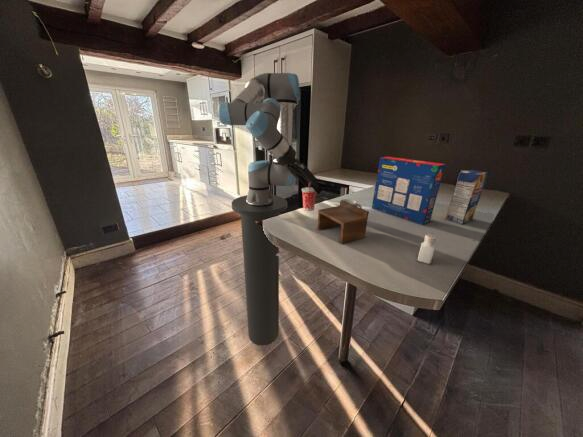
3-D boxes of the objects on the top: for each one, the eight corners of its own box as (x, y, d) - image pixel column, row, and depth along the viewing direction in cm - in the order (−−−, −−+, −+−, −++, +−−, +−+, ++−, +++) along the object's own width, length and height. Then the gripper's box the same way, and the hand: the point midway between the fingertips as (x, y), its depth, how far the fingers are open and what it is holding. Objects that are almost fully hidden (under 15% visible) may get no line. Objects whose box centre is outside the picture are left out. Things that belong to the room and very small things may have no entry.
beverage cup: (299, 208, 101) (299, 176, 96) (312, 206, 103) (312, 175, 98) (305, 212, 95) (305, 178, 90) (318, 210, 97) (319, 177, 92)
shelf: (317, 228, 103) (318, 204, 99) (339, 223, 110) (341, 200, 105) (341, 244, 91) (344, 217, 86) (364, 236, 97) (369, 211, 93)
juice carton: (456, 214, 124) (470, 169, 115) (472, 219, 118) (488, 172, 109) (445, 219, 118) (459, 172, 109) (461, 224, 112) (478, 175, 103)
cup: (359, 214, 120) (362, 200, 117) (360, 220, 113) (363, 205, 110) (338, 212, 122) (340, 198, 119) (338, 218, 115) (340, 203, 112)
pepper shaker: (417, 261, 80) (423, 236, 77) (418, 256, 84) (424, 232, 80) (430, 265, 78) (437, 240, 75) (430, 259, 82) (437, 235, 78)
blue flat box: (430, 221, 115) (445, 164, 104) (422, 224, 110) (438, 165, 99) (379, 205, 135) (388, 156, 124) (371, 208, 130) (380, 157, 120)
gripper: (264, 155, 91) (298, 190, 105) (288, 163, 76) (324, 203, 90) (276, 141, 91) (308, 178, 106) (302, 146, 76) (335, 188, 91)
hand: (315, 189), depth 98 cm, fingers closed on beverage cup, 6 cm apart
